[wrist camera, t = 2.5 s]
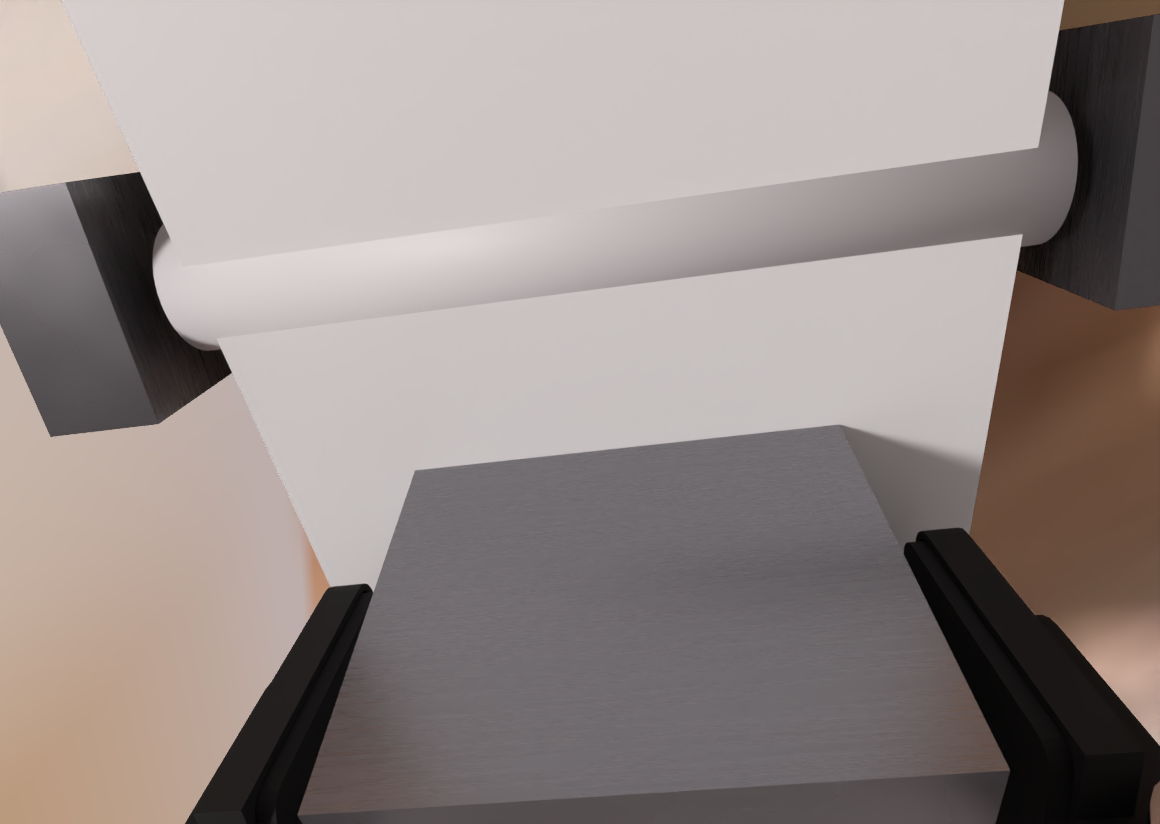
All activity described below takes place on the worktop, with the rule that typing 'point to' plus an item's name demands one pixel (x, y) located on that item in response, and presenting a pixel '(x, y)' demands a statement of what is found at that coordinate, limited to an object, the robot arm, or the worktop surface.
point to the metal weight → (653, 651)
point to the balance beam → (591, 227)
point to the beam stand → (182, 372)
